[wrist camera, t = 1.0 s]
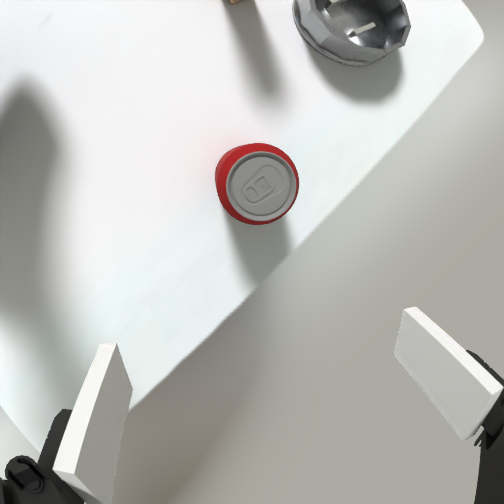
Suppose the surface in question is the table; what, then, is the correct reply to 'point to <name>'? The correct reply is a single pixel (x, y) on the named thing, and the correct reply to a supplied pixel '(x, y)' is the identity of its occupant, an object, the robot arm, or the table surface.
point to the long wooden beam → (233, 1)
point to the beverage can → (256, 183)
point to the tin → (353, 28)
